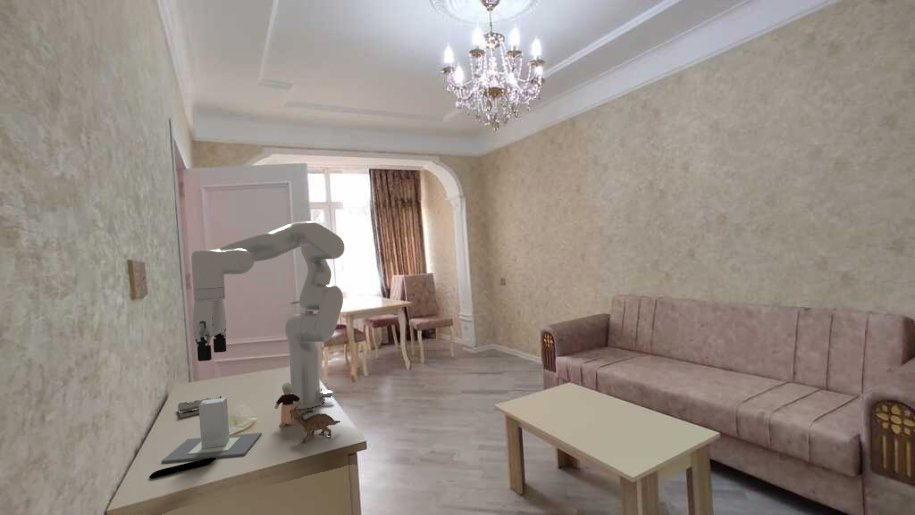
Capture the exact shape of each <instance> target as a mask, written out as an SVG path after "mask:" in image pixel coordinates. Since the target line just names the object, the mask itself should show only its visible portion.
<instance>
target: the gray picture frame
mask: <svg viewBox="0 0 915 515" xmlns="http://www.w3.org/2000/svg"><path fill="white" fill-rule="evenodd" d="M262 434H263V433H262V432H254V433H253V432H252V433H244V434H229V437H230V439H229V441H228V443H227V444H226V445H224V446H218V447H211V448H204V449H202V446H201V437H198V438H197V437H196V438H188V439H186V440H185V441H184V442H182V443H181V444H180V445H179V446H178V447H176V448H175V449H173V451H171V452H170V453H169V454H168V455H167V456H166V457H165V458H163V459H162V460H161V464H168V463H177V462H178V463H179V462H180V463H181V462H188V461H189V462H192V461H198V460H202V459H206V458H217V459H221V458H230V457H231V458H233V457H243V456H246V454H248V452H249V451H250V450H251V448H252V447H254V445H255V444H256V443H257V441H258V440H259V439H260V438H261V436H262Z"/></svg>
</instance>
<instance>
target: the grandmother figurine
mask: <svg viewBox="0 0 915 515" xmlns="http://www.w3.org/2000/svg"><path fill="white" fill-rule="evenodd" d="M281 389H282V393H283V394H281V395H280V396H279V398H278V399H277V401H276V403H275V406H274V409H276V410H277V409H279V406H280V405H281V407H280V408H281V410H280V412H281V413H280V423H279V425H278V426H279V427H281V428H282V427H286V426H287V425H288V426H294V425H296V423H295V422H296V421H295V420H294V419H291V417H290V416H291V414H290V410H291V409H294V403H293V401H295V402H297V403H298V404H299V405H301V404H302V402H301V401H300V398H299V397H298V396H296V395H294V394H291V392H292V390H293V386H292V384H291V382H290V383H289V382H286V383H284V384H282V387H281Z"/></svg>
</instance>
